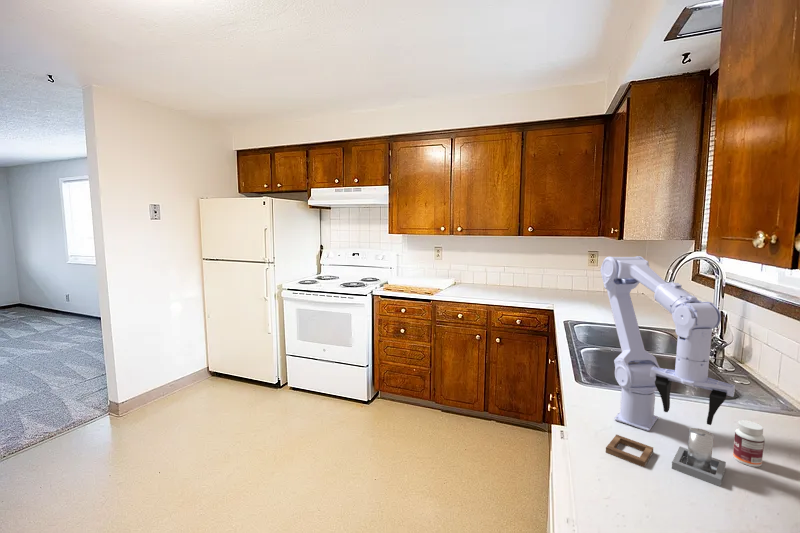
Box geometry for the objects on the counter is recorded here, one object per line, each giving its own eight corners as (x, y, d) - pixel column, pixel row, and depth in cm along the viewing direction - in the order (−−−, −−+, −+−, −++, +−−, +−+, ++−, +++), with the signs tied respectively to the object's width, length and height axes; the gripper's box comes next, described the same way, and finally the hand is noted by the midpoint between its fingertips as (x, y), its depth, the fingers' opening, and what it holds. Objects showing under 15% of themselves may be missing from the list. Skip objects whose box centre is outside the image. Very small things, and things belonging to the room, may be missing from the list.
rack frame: (679, 452, 87) (679, 446, 86) (725, 468, 81) (725, 461, 81) (671, 468, 81) (672, 461, 81) (720, 486, 75) (721, 479, 75)
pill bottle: (732, 451, 87) (735, 416, 86) (760, 459, 84) (764, 423, 83) (732, 461, 83) (736, 425, 82) (762, 470, 80) (766, 432, 79)
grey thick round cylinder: (688, 460, 84) (691, 426, 83) (711, 468, 81) (715, 433, 80) (684, 468, 81) (687, 433, 80) (708, 477, 78) (711, 440, 77)
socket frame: (616, 439, 92) (616, 434, 92) (653, 452, 87) (653, 447, 86) (605, 452, 87) (605, 447, 87) (644, 467, 81) (644, 462, 81)
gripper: (648, 353, 85) (644, 411, 86) (734, 371, 75) (728, 436, 76) (656, 346, 90) (652, 401, 91) (738, 362, 80) (732, 423, 81)
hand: (687, 416), depth 84 cm, fingers open, 7 cm apart
